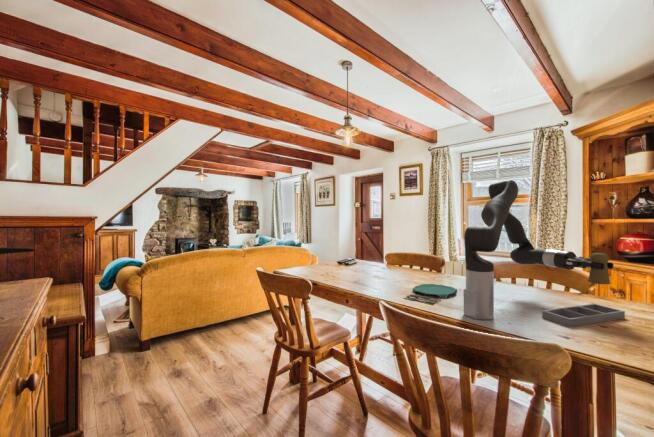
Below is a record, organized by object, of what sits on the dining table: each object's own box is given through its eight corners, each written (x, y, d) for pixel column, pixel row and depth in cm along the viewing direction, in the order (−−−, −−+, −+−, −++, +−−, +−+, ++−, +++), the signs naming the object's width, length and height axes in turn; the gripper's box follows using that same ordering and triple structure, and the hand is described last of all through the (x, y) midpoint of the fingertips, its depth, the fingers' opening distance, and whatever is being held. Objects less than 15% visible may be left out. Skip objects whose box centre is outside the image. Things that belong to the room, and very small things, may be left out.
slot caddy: (570, 326, 98) (570, 319, 98) (542, 317, 107) (542, 310, 107) (624, 318, 106) (624, 311, 106) (593, 309, 115) (594, 303, 115)
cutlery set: (463, 292, 143) (463, 287, 143) (437, 307, 121) (437, 302, 121) (424, 286, 157) (424, 281, 157) (395, 299, 135) (395, 294, 135)
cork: (614, 284, 106) (615, 254, 105) (595, 284, 107) (595, 254, 107) (602, 280, 112) (603, 252, 111) (584, 280, 113) (584, 251, 113)
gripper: (546, 250, 121) (595, 257, 104) (571, 249, 125) (621, 255, 108) (546, 269, 121) (595, 278, 104) (571, 267, 125) (621, 275, 109)
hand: (608, 266), depth 107 cm, fingers closed on cork, 4 cm apart
